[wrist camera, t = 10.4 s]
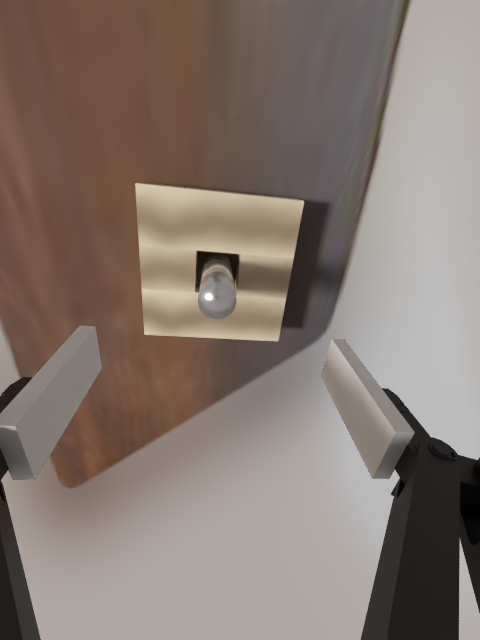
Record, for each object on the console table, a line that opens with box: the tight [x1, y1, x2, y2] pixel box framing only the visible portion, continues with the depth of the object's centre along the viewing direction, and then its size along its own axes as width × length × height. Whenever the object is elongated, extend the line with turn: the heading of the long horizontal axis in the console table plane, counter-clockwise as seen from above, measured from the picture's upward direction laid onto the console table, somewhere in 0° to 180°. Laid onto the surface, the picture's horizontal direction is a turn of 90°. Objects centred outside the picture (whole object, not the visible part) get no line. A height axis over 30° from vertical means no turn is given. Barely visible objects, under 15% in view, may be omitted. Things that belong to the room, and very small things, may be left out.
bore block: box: [135, 183, 304, 341], centre depth 32 cm, size 16×16×4 cm
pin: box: [198, 252, 236, 319], centre depth 28 cm, size 3×3×11 cm
